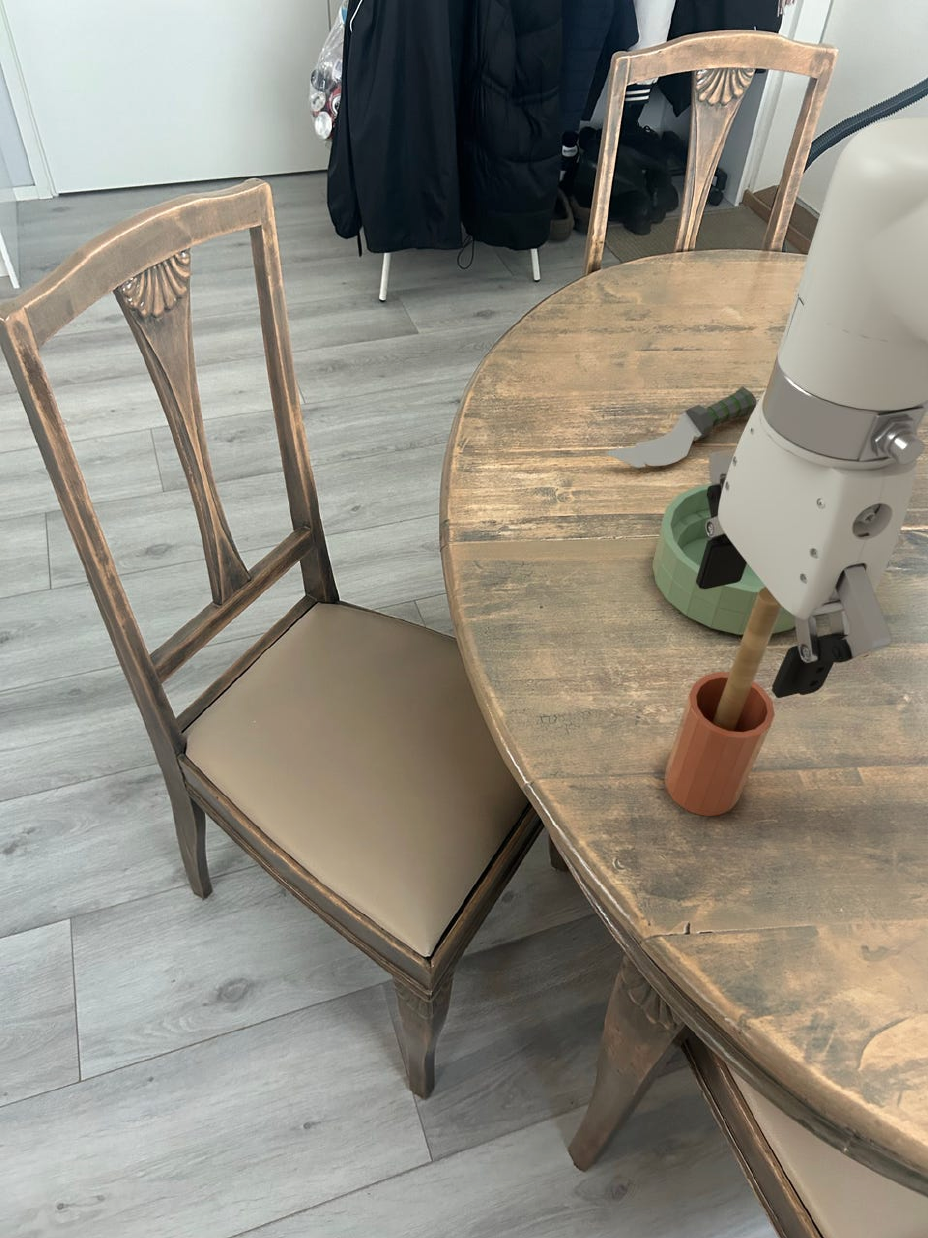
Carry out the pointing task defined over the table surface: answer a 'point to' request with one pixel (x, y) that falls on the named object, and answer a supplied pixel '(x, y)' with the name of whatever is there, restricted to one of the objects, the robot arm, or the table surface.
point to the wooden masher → (747, 659)
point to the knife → (686, 431)
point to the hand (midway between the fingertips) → (754, 633)
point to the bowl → (681, 565)
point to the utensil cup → (715, 748)
